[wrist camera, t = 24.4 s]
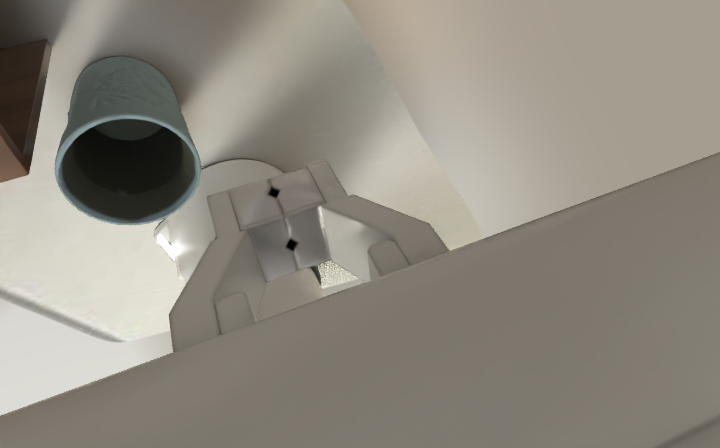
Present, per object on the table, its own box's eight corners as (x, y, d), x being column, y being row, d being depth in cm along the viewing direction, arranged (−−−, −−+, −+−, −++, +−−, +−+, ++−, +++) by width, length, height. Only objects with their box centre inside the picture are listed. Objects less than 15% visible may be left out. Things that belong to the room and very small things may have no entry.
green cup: (174, 44, 45) (190, 106, 36) (192, 142, 51) (210, 214, 43) (45, 54, 41) (31, 125, 33) (83, 157, 48) (79, 238, 40)
